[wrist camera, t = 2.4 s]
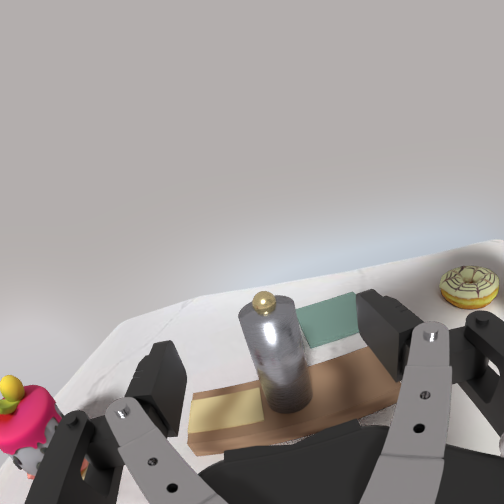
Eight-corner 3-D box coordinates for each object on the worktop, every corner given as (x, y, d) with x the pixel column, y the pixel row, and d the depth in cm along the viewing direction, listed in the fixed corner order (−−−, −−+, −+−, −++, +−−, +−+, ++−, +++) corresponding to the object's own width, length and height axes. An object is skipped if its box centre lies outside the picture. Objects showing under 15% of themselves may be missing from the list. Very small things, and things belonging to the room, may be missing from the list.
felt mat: (353, 294, 48) (352, 291, 48) (380, 324, 37) (380, 320, 37) (294, 312, 48) (293, 309, 48) (310, 348, 37) (309, 345, 37)
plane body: (372, 359, 31) (371, 343, 30) (400, 400, 24) (402, 384, 23) (200, 406, 31) (192, 392, 30) (196, 456, 23) (186, 442, 23)
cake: (61, 438, 26) (-1, 353, 22) (114, 448, 25) (43, 352, 21) (32, 488, 16) (-47, 400, 12) (87, 512, 15) (-15, 417, 11)
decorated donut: (459, 275, 41) (460, 256, 40) (505, 291, 32) (508, 270, 30) (428, 299, 39) (429, 278, 38) (480, 321, 29) (483, 298, 28)
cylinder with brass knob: (306, 376, 29) (284, 274, 25) (317, 405, 24) (296, 296, 21) (264, 387, 29) (232, 288, 25) (270, 418, 24) (233, 313, 21)
